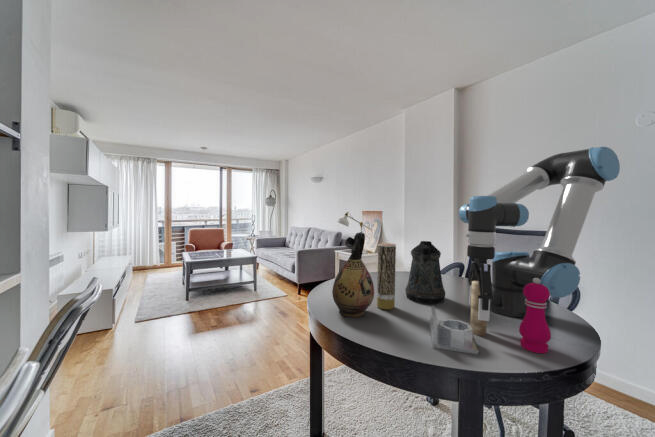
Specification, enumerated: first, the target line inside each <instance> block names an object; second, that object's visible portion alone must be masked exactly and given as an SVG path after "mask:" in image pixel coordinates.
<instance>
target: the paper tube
mask: <svg viewBox="0 0 655 437" xmlns="http://www.w3.org/2000/svg"><path fill="white" fill-rule="evenodd" d="M377 245H378V246H377V278H376V279H377V282H376V283H377V284H376V287H377V288H376V290H377V292H376V297H377V298H376V305H377V306H376V307H377V308H379V309H381V310H386V311H387V310H388V311H390V310H393V309H394V308H395V305H396V304H395V302H396V301H395V298H396V297H395V296H396V262H397V261H396V260H397V258H396V256H397V254H396V253H397V251H396V250H397V249H396V248H397V244H395V243H387V242H386V243H385V242H381V243H378V244H377Z"/></svg>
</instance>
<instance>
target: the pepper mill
mask: <svg viewBox="0 0 655 437" xmlns="http://www.w3.org/2000/svg"><path fill="white" fill-rule="evenodd" d="M540 282H541V281H540V279H539V278H534V279H533V283H529V284H527V285H526V286H525V287H524V289H523V294H524V295H525V297H526V298H527V299H525V304H526V305H527V310H526V315H525V317H523V319H522V321H521V322H520V325H519V329H518V330H519V331H518V332H519V334H520V335H521V338H520V346H521V348H523V349H525V350H526V351H528V352H532V353H535V354H547V353H548V352H549V344H548V342H550V341H551V338H552V334H551V330H550V327H549V325H548V323H547V322H548V321H547V319H546V313H545V312H546V309H547V308H548V307H547V306H548V303H547V301H549V298H550V297H551V296H550V292H549V290H548V288H547V287H546V286H544V285H542V284H540Z"/></svg>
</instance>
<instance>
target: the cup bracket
mask: <svg viewBox="0 0 655 437" xmlns="http://www.w3.org/2000/svg"><path fill="white" fill-rule="evenodd" d="M429 319H430V320H429V321H430V322H429V323H430V324H429V331H430V332H429V333H430V338H431V339H430V340H431V345H432V348H433V349H439V350H445V351H451V352H459V353H466V354H471V355H472V354H473V355H479V353H480V352H479V349H478V347H477V345H476V342H475V341H474V338H473V334H472V333H473V329H472V327H471V325H470V323H467V322H465V321H463V320H460V319H452V318H451V319H450V318H445V319H441V320H438V316H437V313H436V309H435V306H434V305H430V318H429Z"/></svg>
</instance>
